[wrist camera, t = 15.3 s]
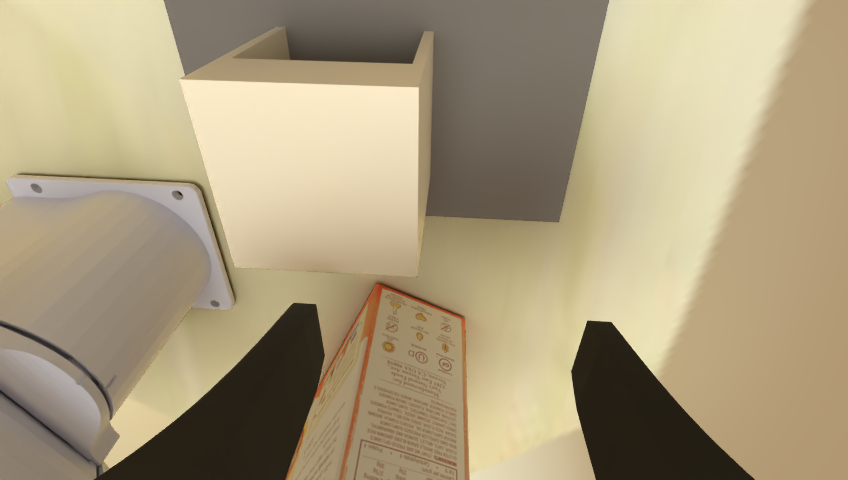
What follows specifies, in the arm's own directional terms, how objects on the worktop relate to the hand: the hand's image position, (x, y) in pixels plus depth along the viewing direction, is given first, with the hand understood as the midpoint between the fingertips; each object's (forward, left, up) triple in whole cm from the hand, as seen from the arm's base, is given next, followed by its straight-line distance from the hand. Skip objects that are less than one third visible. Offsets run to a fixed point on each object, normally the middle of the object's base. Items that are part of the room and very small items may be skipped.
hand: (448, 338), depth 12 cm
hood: (-4, +3, -9) cm, 11 cm away
